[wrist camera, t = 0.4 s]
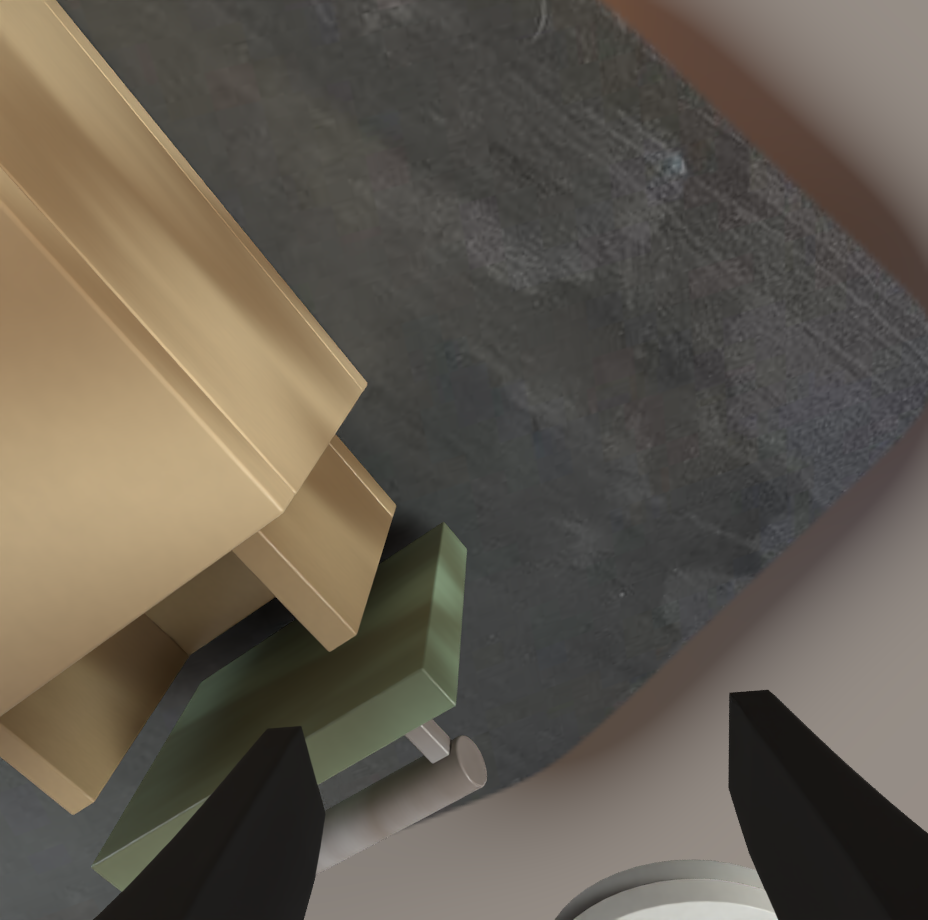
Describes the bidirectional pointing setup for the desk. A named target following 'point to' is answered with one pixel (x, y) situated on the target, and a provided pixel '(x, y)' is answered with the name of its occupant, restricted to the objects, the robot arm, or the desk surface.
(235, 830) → the robot arm
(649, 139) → the desk surface
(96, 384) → the cabinet
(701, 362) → the desk surface
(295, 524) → the drawer
